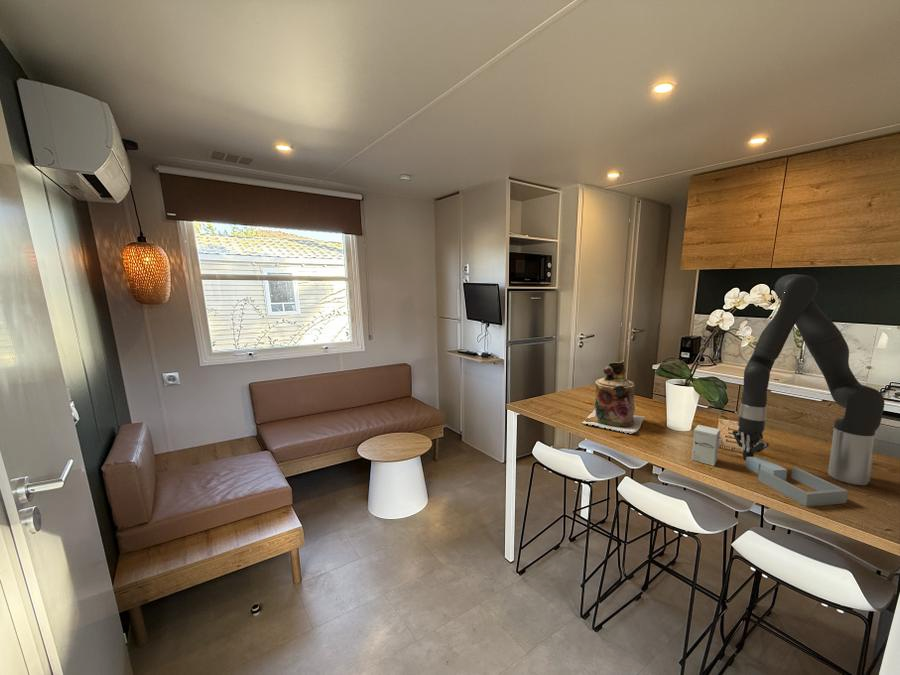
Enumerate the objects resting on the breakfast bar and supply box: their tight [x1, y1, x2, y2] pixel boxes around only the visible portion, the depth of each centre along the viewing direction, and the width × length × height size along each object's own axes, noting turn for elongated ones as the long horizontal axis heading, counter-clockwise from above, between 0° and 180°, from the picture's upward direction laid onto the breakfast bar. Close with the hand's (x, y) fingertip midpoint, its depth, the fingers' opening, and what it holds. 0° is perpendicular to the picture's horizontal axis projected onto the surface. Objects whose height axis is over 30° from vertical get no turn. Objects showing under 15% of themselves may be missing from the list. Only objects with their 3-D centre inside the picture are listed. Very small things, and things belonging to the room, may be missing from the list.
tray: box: [757, 466, 849, 507], centre depth 116 cm, size 14×15×4 cm
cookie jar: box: [582, 359, 645, 435], centre depth 176 cm, size 25×25×32 cm
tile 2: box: [759, 462, 788, 482], centre depth 125 cm, size 5×5×4 cm
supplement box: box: [691, 424, 721, 467], centre depth 138 cm, size 7×7×13 cm
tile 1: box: [745, 455, 773, 475], centre depth 130 cm, size 5×5×4 cm
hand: (747, 460), depth 134 cm, fingers closed
